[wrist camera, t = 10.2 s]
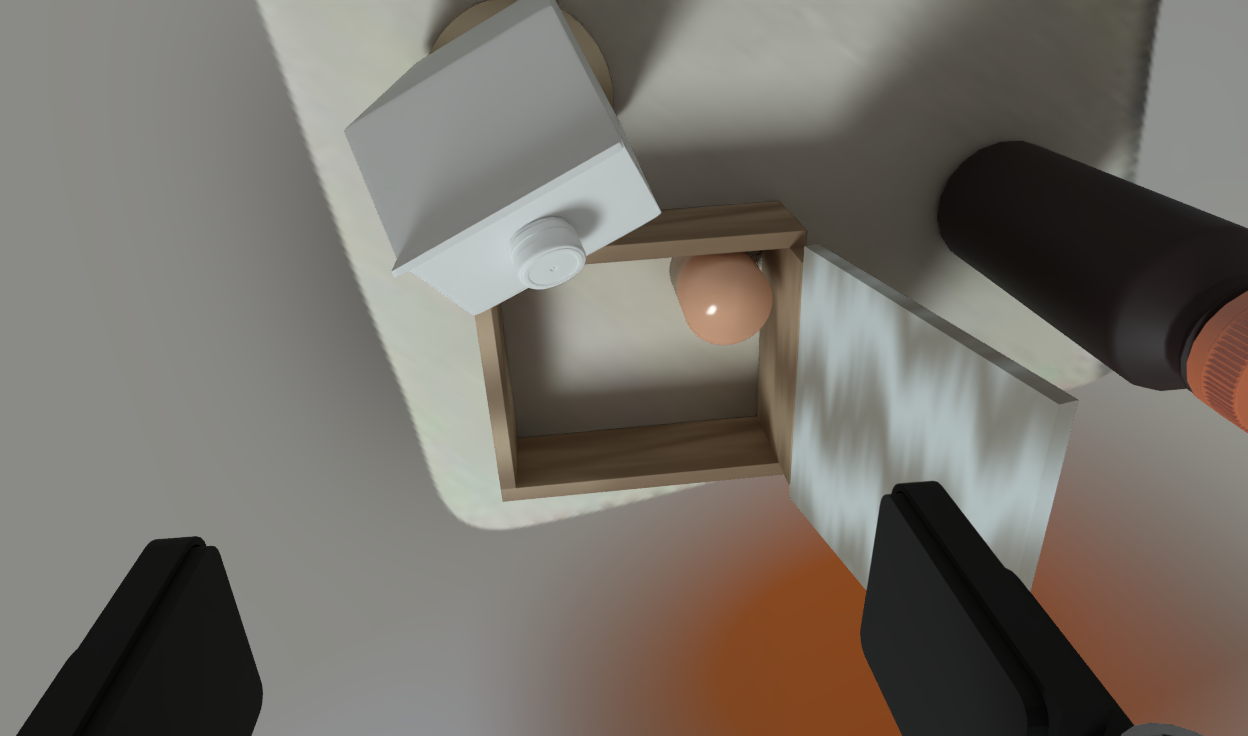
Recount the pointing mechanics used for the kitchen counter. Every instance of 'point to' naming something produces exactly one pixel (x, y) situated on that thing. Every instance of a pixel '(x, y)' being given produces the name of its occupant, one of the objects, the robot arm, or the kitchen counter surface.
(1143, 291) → the bottle
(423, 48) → the kitchen counter surface
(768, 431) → the box
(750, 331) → the tan rounded ovoid
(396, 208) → the milk carton
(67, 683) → the robot arm
